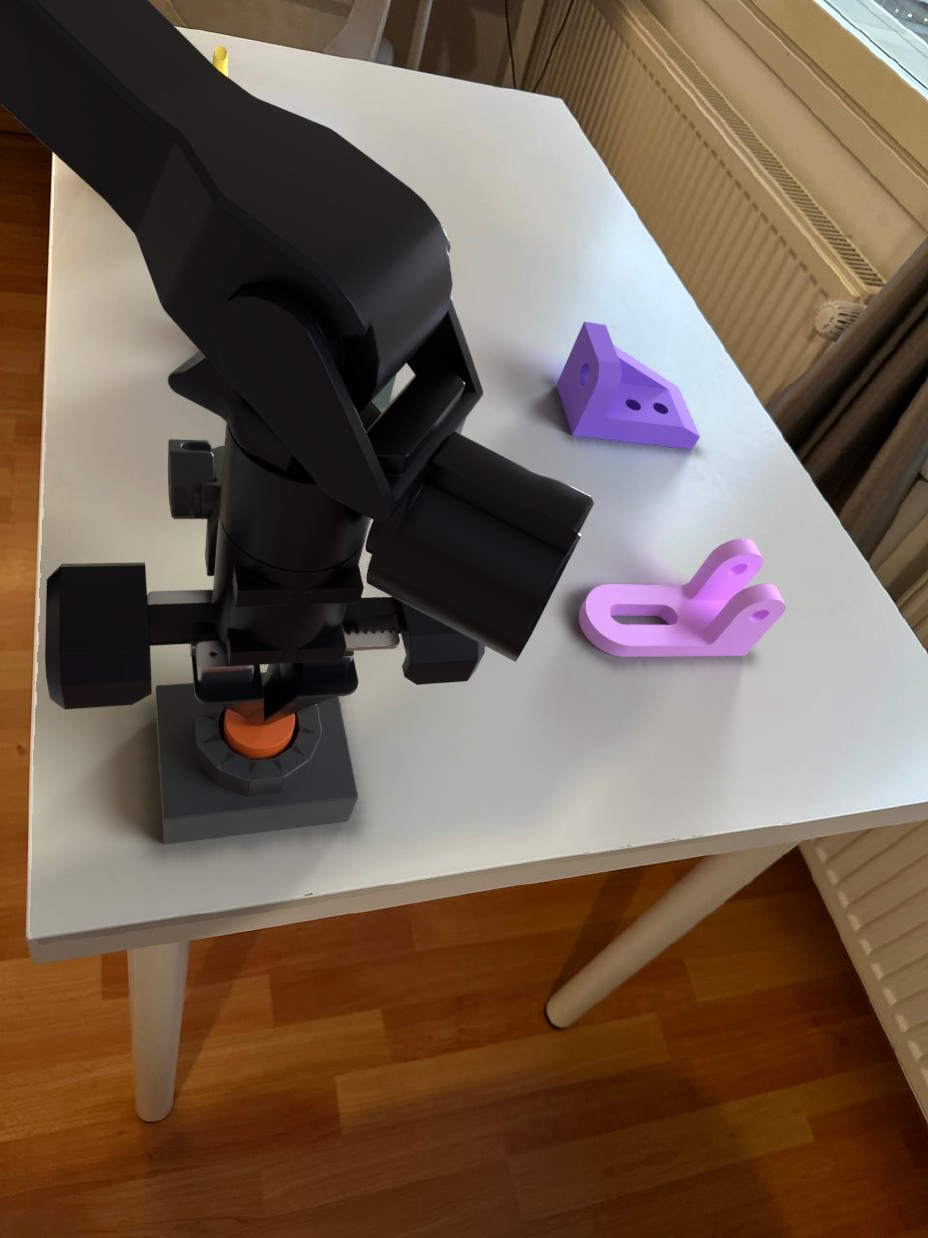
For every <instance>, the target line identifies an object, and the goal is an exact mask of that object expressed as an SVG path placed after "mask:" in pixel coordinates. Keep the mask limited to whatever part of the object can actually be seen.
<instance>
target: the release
mask: <svg viewBox="0 0 928 1238" xmlns="http://www.w3.org/2000/svg"><path fill="white" fill-rule="evenodd" d="M265 674H266V671H265V672H261V678H262V684H263V681H264V678H265ZM341 705H342V704H341V699H340V696H339V697H335V698H332V699H329V700H326V701H324V702H321V703H318V704H316V705H313V706H310V707H308V708H305V709H303V710H300V711H298V712H296V713H294V716H295V724H294V729H293V733H292V737H291V741H290V744H289V747H288V749H287V750H286V751H285V752H283V753H282V754H280V755H279V756H277V757H276V758H270V759H260V760H251V759H248V758H246V757H243V756H240V755H238V754H235V753H233V752H232V751H231V750H230V748H229V747H228V746H227V745H226V744H225V742H224V739H223V729H224V720H225V713H226V710H227V708H225V707H223V706H220V705H213V706H206V705H203V704H201V703H199V702H198V701H197V700H196V698H195V693H194V682H185V683H173V684H172V683H171V684H157V685H156V686H155V725H156V738H157V739H156V740H157V756H158V757H157V758H158V772H159V789H160V791H159V792H160V805H161V823H162V825H161V826H162V840H163V844H164V845H169V844H170V845H171V844H178V843H184V842H193V841H203V840H210V839H216V838H217V839H218V838H224V837H233V836H240V835H248V834H256V833H265V832H273V831H280V830H287V829H288V830H289V829H295V828H296V829H297V828H304V827H311V826H320V825H329V824H337V823H343V822H349V821H350V819H351V816H352V813H353V811H354V809H355V807H356V804H357V801H358V798H359V793H358V788H357V783H356V778H355V772H354V768H353V761H352V756H351V752H350V751H351V750H350V747H349V742H348V741H349V740H348V736H347V732H346V726H345V721H344V720H345V719H344V716H343V711H342V706H341Z"/></svg>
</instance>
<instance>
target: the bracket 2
mask: <svg viewBox="0 0 928 1238" xmlns="http://www.w3.org/2000/svg"><path fill="white" fill-rule="evenodd" d="M763 564H764V559H763V557H762V555H761V552H760V551H759V549H758V546H757V544H756V542H755V541H754V540H752V539H749V538H736V539H732V540H729V541H726V542H724V543H722V544H720V545H719V546H717V547H715V548H714V549H713V550H712V551H711V552H710V553H709V554H708V556H707V558H705V560H704V561H703V563H702V564H701V565H700V567H699V568H698V570H697V571H696V572H695V573H694V574H693V577H692V578H691V579H690V580H689V582H687V583H685V584H684V585H682V584H681V585H673V584H671V585H669V584H668V585H667V584H629V583H628V584H625V583H624V584H623V583H621V584H620V583H606V584H601V585H598V586H596V587H594V588H593V589H591V591H589V593H588V594H587V596H586V598H585V599H584V601H583V603H581V606H580V608H579V611H578V623H579V626H580V630H581V631H582V633H583V635H584V636H585V637H586V639H587V640H588V641H589V642H590V643H591V644H592V645H593V646H594V647H596V648H597V649H599V650H601V651H602V652H604V653H606V654H609V655H611V656H615V657H621V658H642V657H643V658H649V657H650V658H651V657H653V658H656V657H657V658H659V657H662V658H663V657H664V658H665V657H669V658H670V657H671V658H672V657H673V658H674V657H745V656H746V655H747V654H748V653H749V652H750V651H751V650H752V649H753V647H755V645H756V644H757V643H758V642H759V641H760V640H761V639H762V638H763V637H764V635H765V634H767V632H768V631H769V630H770V629H771V628H772V627H773V625H775V623H776V622H777V621H778V620H779V619H780V618H781V617H782V616H783V614H784V613H785V611H786V604H785V602H784V600H783V597H782V596H781V594H780V591H779V590H778V588H777V586H775V585H773V584H772V583H771V584H770V583H758V584H754V585H750V586H748V585H749V583H750V582H752V580H753V579H754V578H755V577H756V575H757V574H758V573H759V572H760V570H761V569H762V567H763ZM747 586H748V587H747ZM612 616H626V617H627V616H632V617H633V616H638V617H639V616H640V617H642V616H643V617H647V616H649V617H652V616H653V617H659V618H661V619H663V620H664V621H665V622H666V623H667V624H622V623H620V622H618V621H617V620H615V619H614V618H613V617H612Z"/></svg>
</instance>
